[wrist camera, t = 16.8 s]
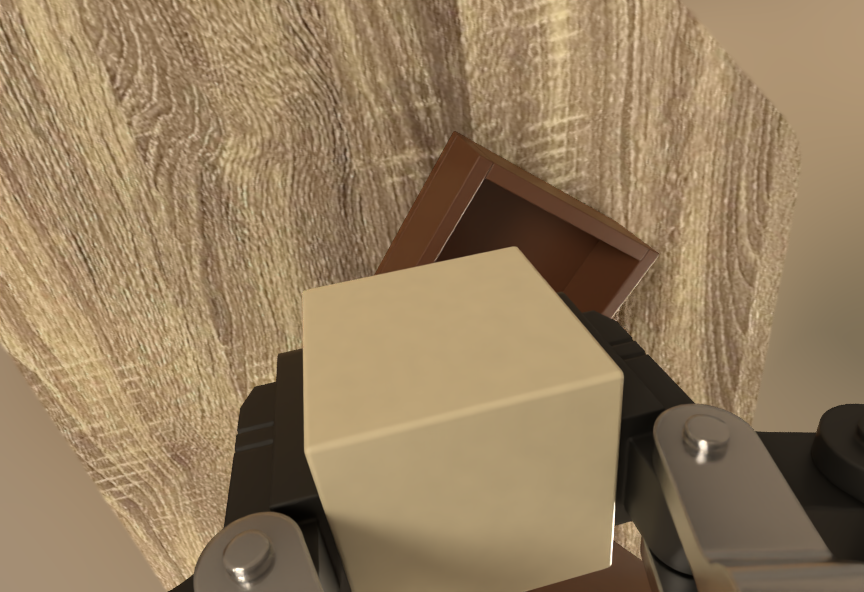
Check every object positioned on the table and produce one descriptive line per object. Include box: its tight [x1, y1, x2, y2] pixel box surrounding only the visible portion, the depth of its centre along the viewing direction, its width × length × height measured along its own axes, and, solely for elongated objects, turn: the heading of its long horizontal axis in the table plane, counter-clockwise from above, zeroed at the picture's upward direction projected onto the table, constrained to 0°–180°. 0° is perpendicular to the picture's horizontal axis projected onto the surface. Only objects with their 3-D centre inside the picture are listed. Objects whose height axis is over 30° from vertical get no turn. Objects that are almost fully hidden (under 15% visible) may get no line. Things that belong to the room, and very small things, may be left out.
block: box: [302, 247, 624, 592], centre depth 9 cm, size 4×4×4 cm
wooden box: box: [375, 131, 659, 318], centre depth 31 cm, size 16×12×5 cm
